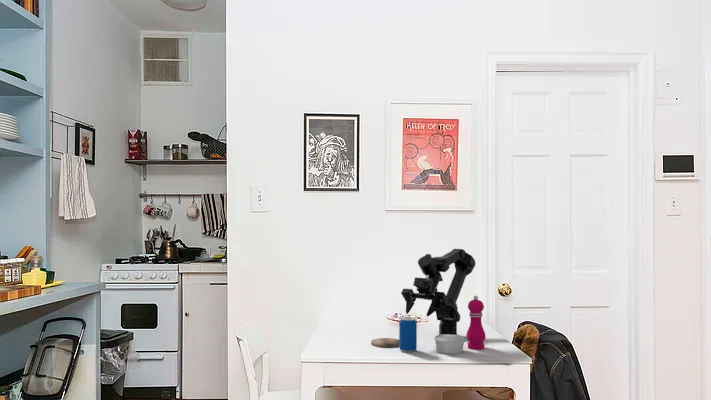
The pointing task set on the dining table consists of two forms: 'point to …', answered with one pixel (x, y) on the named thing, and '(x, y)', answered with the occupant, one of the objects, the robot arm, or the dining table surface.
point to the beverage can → (407, 334)
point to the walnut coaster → (385, 342)
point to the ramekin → (449, 344)
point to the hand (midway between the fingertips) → (416, 314)
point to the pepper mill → (475, 325)
